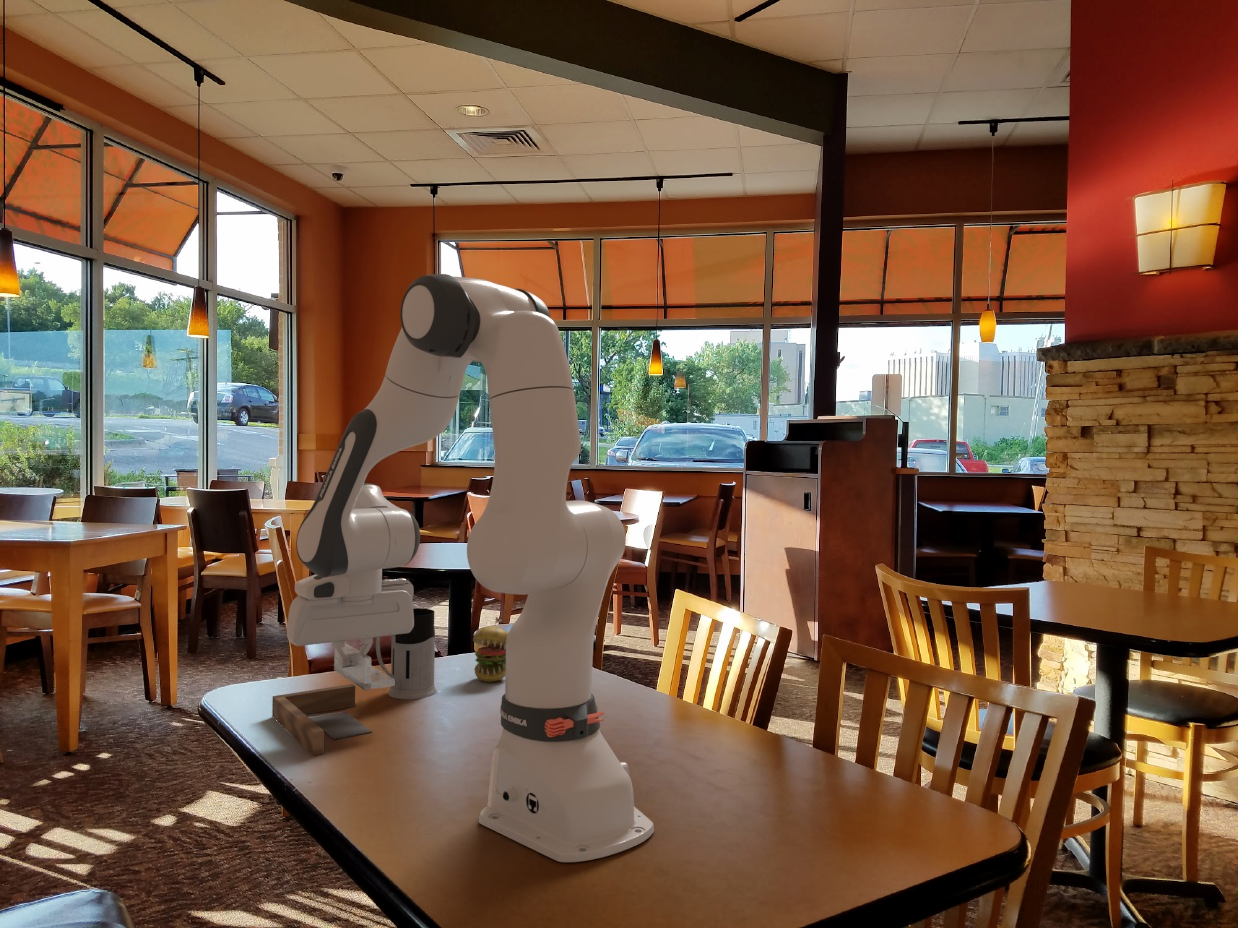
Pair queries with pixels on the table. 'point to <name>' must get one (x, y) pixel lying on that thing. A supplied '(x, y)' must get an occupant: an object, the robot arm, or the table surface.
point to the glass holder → (413, 658)
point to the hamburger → (491, 653)
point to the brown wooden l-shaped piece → (311, 730)
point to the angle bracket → (362, 670)
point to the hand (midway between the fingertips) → (351, 665)
